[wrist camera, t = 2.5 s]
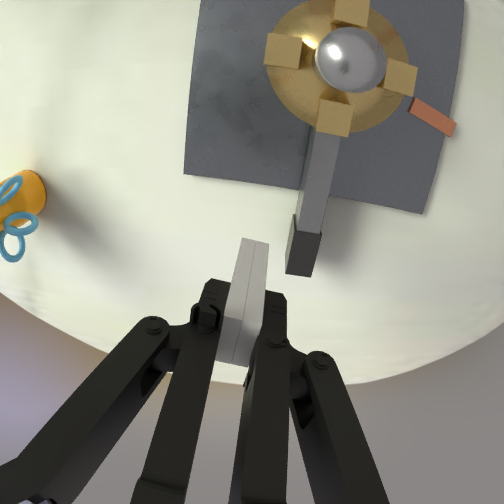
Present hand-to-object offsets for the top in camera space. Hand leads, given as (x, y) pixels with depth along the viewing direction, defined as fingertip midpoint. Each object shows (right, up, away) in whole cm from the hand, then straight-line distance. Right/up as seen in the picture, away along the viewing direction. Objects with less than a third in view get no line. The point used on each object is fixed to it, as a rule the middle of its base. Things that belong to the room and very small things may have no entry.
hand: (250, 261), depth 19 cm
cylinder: (-28, +8, +15) cm, 32 cm away
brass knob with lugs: (+6, +11, +8) cm, 15 cm away
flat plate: (+7, +17, +6) cm, 19 cm away
